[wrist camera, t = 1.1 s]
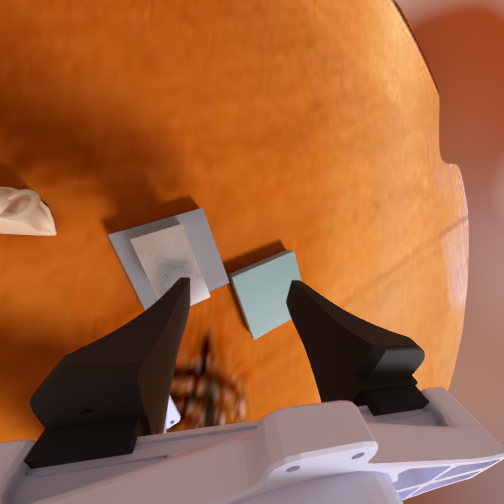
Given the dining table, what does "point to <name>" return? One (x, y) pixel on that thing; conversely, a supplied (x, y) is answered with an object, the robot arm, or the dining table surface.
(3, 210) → the decorative ornament
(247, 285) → the stand
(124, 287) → the dining table surface
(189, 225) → the stand
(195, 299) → the block
